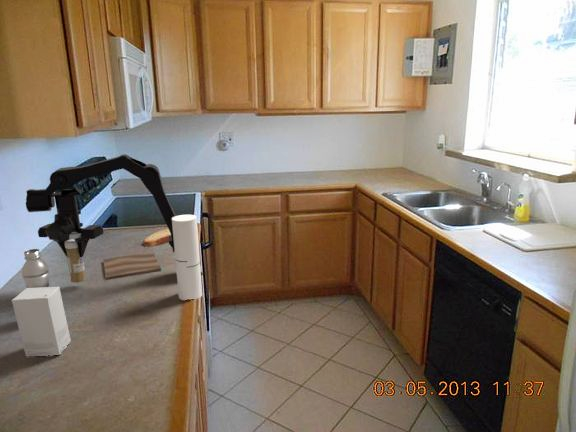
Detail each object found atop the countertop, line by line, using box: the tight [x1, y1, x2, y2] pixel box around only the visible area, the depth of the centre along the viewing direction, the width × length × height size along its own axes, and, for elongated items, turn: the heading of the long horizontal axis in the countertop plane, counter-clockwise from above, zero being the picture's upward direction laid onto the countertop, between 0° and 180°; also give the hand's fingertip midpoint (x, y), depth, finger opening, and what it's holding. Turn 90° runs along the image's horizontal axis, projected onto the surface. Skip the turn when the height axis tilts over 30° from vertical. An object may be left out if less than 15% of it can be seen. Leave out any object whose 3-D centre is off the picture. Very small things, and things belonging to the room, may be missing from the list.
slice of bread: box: [142, 228, 171, 248], centre depth 183 cm, size 18×18×4 cm
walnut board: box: [103, 251, 162, 281], centre depth 154 cm, size 18×18×1 cm
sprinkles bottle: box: [65, 238, 87, 284], centre depth 135 cm, size 5×5×13 cm
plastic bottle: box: [21, 248, 51, 288], centre depth 115 cm, size 6×7×20 cm
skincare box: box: [11, 286, 72, 357], centre depth 101 cm, size 8×7×16 cm
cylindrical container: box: [172, 214, 203, 301], centre depth 128 cm, size 7×7×25 cm
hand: (74, 256), depth 135 cm, fingers closed on sprinkles bottle, 4 cm apart
